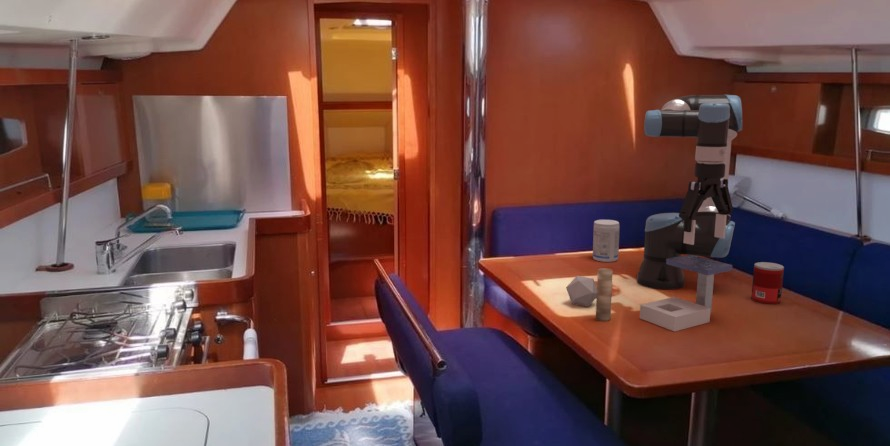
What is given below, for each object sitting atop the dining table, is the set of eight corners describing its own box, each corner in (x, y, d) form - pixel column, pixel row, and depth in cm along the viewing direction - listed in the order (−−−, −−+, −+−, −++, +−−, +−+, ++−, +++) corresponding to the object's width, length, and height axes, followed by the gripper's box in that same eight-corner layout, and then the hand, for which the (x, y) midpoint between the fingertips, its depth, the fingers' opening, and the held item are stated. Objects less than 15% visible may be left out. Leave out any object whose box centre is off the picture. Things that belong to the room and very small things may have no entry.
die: (603, 305, 191) (591, 274, 195) (601, 299, 183) (589, 267, 187) (575, 314, 193) (565, 283, 196) (572, 308, 184) (561, 276, 188)
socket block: (639, 318, 178) (640, 304, 177) (674, 309, 184) (675, 296, 184) (674, 331, 167) (675, 317, 167) (709, 322, 174) (710, 308, 174)
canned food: (784, 305, 188) (787, 269, 186) (754, 303, 190) (758, 267, 188) (776, 297, 196) (779, 262, 194) (748, 295, 197) (751, 261, 195)
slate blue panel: (663, 310, 184) (666, 258, 181) (686, 305, 188) (690, 254, 186) (704, 325, 172) (708, 270, 169) (728, 319, 177) (732, 265, 174)
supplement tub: (608, 255, 249) (610, 218, 246) (623, 261, 240) (625, 223, 237) (587, 257, 245) (588, 220, 242) (601, 263, 237) (603, 224, 234)
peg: (592, 317, 178) (594, 269, 176) (603, 315, 180) (605, 267, 177) (602, 322, 175) (605, 272, 172) (613, 319, 177) (615, 270, 174)
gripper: (693, 166, 158) (687, 249, 163) (750, 160, 172) (744, 237, 176) (667, 163, 165) (663, 243, 169) (725, 158, 178) (719, 232, 182)
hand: (704, 240), depth 172 cm, fingers open, 13 cm apart
